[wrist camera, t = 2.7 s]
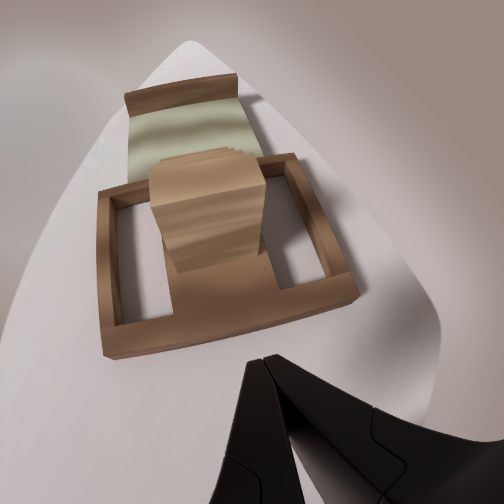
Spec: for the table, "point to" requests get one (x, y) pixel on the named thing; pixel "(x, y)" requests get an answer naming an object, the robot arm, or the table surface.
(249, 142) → the brown wooden flat frame
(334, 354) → the table surface
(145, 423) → the table surface
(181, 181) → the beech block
